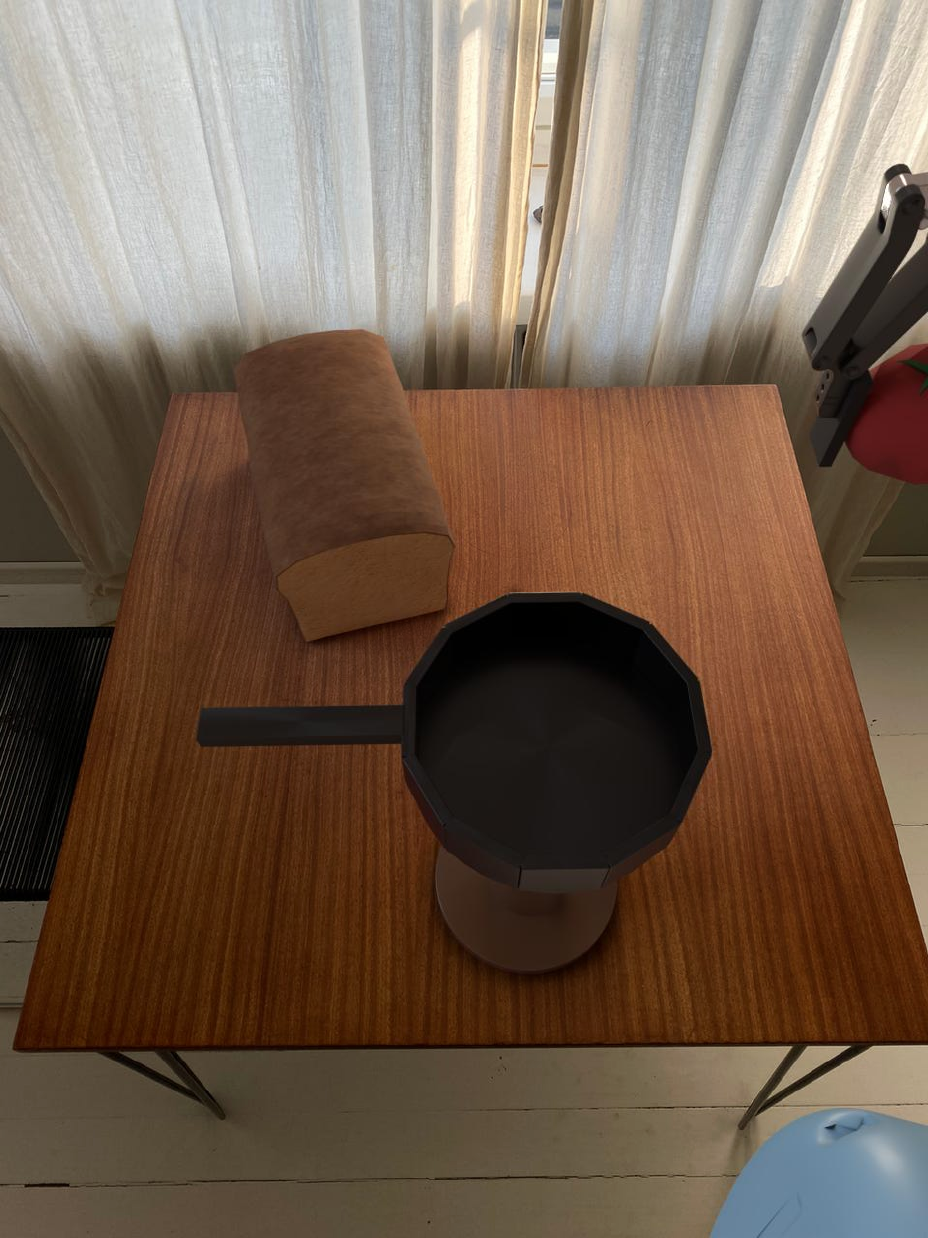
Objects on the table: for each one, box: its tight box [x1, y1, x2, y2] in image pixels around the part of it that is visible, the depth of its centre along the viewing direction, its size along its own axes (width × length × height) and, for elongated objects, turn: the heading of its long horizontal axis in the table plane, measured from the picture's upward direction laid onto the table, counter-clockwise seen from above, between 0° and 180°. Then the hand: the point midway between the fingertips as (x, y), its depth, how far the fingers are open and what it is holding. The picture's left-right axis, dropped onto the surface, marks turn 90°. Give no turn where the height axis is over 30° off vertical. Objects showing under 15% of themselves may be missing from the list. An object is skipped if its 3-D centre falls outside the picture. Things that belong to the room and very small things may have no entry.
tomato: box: [844, 342, 928, 486], centre depth 50 cm, size 8×8×7 cm
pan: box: [195, 591, 713, 975], centre depth 64 cm, size 18×29×33 cm, turn 91°
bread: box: [233, 328, 456, 643], centre depth 93 cm, size 18×30×16 cm, turn 15°
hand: (892, 449), depth 53 cm, fingers closed on tomato, 8 cm apart
